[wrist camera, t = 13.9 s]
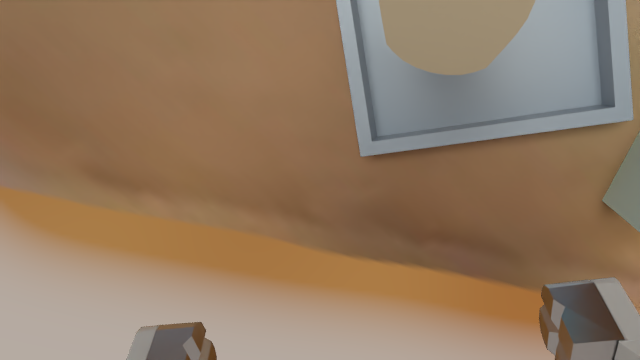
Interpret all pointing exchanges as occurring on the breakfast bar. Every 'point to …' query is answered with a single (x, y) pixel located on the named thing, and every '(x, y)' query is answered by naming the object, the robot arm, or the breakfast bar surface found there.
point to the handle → (451, 31)
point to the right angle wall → (627, 187)
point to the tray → (491, 80)
